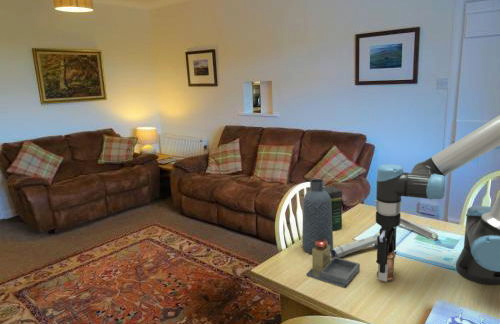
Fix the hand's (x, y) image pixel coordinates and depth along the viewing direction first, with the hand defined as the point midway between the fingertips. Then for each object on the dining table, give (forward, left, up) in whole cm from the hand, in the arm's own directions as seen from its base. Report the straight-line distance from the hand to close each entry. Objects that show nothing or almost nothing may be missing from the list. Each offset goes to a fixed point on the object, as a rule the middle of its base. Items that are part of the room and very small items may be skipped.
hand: (385, 275), depth 124 cm
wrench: (+5, -43, -1) cm, 43 cm away
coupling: (0, 0, 0) cm, 0 cm away
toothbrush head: (+13, -13, -1) cm, 19 cm away
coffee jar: (+33, -29, -1) cm, 44 cm away
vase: (+29, -7, -1) cm, 30 cm away
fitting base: (+16, +7, 0) cm, 17 cm away
